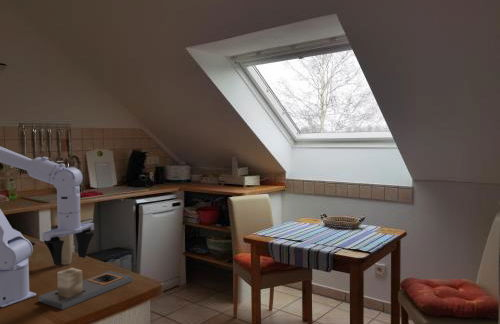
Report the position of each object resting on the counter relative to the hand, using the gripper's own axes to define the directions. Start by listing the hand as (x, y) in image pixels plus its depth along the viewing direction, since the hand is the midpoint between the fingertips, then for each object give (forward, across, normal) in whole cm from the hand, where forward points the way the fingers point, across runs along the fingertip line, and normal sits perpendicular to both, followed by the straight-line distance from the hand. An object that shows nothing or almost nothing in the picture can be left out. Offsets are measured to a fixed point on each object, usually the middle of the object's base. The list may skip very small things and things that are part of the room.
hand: (70, 260), depth 111 cm
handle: (+10, +18, +27) cm, 34 cm away
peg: (+10, 0, 0) cm, 11 cm away
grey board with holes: (+10, +6, 0) cm, 12 cm away
